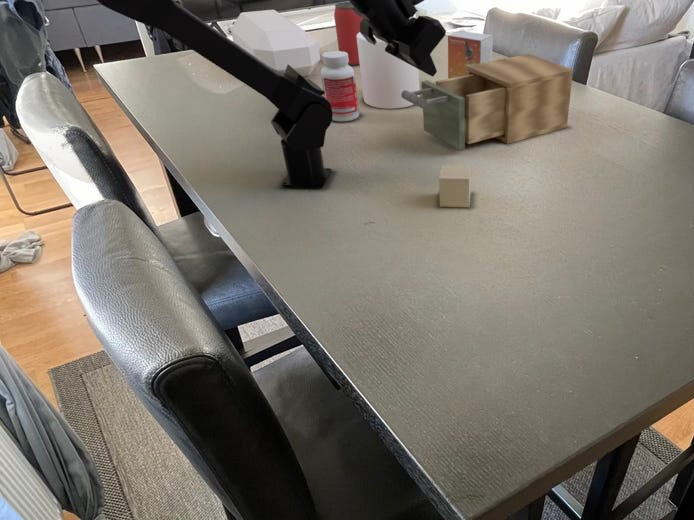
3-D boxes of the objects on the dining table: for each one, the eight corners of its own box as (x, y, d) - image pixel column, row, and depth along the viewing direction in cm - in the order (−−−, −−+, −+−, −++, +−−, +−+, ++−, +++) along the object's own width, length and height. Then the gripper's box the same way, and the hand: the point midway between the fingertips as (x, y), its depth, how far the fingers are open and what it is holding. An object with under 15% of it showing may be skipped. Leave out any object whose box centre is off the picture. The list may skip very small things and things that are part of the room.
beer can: (337, 60, 143) (329, 2, 135) (363, 57, 145) (357, 0, 137) (344, 67, 139) (336, 8, 131) (371, 64, 141) (365, 6, 133)
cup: (367, 111, 117) (360, 43, 109) (360, 92, 125) (352, 28, 117) (425, 106, 119) (421, 40, 111) (414, 89, 128) (410, 25, 119)
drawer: (431, 157, 98) (429, 105, 92) (396, 136, 105) (392, 86, 99) (519, 133, 106) (522, 84, 101) (482, 116, 113) (483, 68, 107)
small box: (447, 89, 127) (446, 35, 120) (460, 83, 131) (459, 29, 124) (480, 95, 125) (480, 40, 118) (491, 88, 128) (493, 34, 121)
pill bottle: (364, 118, 114) (357, 55, 106) (335, 124, 111) (325, 60, 104) (351, 109, 118) (343, 47, 110) (322, 115, 115) (312, 52, 107)
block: (469, 207, 87) (469, 178, 84) (439, 206, 87) (438, 178, 84) (470, 194, 90) (470, 166, 87) (442, 193, 90) (441, 165, 87)
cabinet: (507, 143, 105) (509, 83, 98) (466, 123, 113) (466, 65, 106) (566, 127, 112) (573, 69, 105) (524, 109, 119) (528, 53, 112)
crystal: (253, 37, 121) (222, 10, 138) (265, 87, 127) (234, 56, 145) (321, 29, 126) (283, 5, 144) (328, 78, 133) (291, 49, 150)
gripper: (435, -54, 74) (499, 44, 86) (375, -66, 86) (438, 21, 98) (379, 18, 76) (450, 104, 88) (328, -3, 88) (396, 75, 99)
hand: (434, 73), depth 93 cm, fingers closed
